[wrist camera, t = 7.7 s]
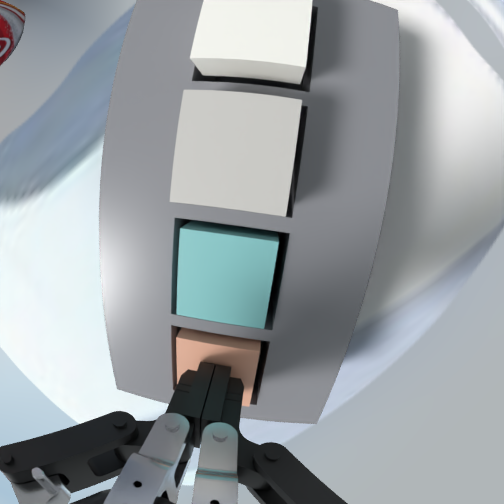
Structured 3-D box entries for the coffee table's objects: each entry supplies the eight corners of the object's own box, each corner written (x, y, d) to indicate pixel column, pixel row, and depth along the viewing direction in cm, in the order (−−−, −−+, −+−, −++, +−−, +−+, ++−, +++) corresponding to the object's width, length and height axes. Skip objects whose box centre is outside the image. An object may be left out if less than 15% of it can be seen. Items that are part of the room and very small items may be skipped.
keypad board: (171, 26, 13) (141, -12, 8) (367, 46, 12) (397, 9, 8) (145, 345, 19) (117, 388, 14) (308, 372, 19) (316, 423, 14)
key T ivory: (225, 23, 10) (209, -21, 6) (303, 30, 10) (313, -14, 6) (213, 88, 11) (189, 58, 8) (295, 96, 11) (305, 67, 7)
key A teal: (203, 212, 15) (180, 228, 11) (276, 222, 14) (278, 241, 11) (197, 280, 16) (176, 314, 12) (265, 290, 16) (264, 329, 12)
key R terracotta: (196, 299, 16) (176, 337, 12) (262, 310, 16) (259, 351, 12) (194, 351, 17) (177, 393, 13) (253, 361, 17) (249, 406, 13)
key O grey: (209, 112, 12) (183, 89, 8) (292, 121, 12) (302, 99, 8) (199, 192, 13) (169, 201, 9) (281, 202, 13) (285, 216, 9)
